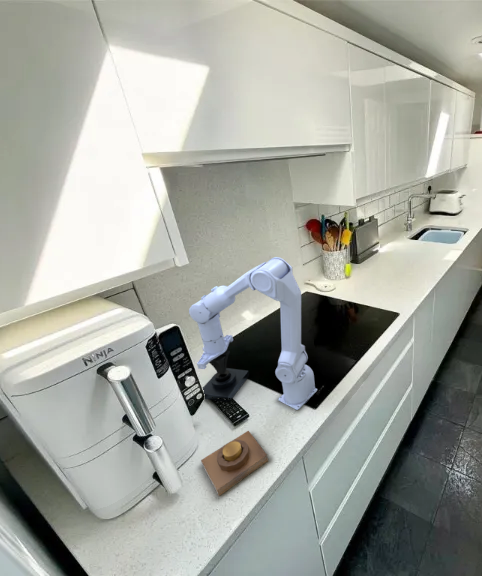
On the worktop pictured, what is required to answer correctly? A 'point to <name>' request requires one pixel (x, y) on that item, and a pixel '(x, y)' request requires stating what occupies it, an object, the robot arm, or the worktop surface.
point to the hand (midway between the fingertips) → (221, 372)
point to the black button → (222, 376)
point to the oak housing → (234, 463)
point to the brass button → (232, 451)
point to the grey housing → (225, 385)
